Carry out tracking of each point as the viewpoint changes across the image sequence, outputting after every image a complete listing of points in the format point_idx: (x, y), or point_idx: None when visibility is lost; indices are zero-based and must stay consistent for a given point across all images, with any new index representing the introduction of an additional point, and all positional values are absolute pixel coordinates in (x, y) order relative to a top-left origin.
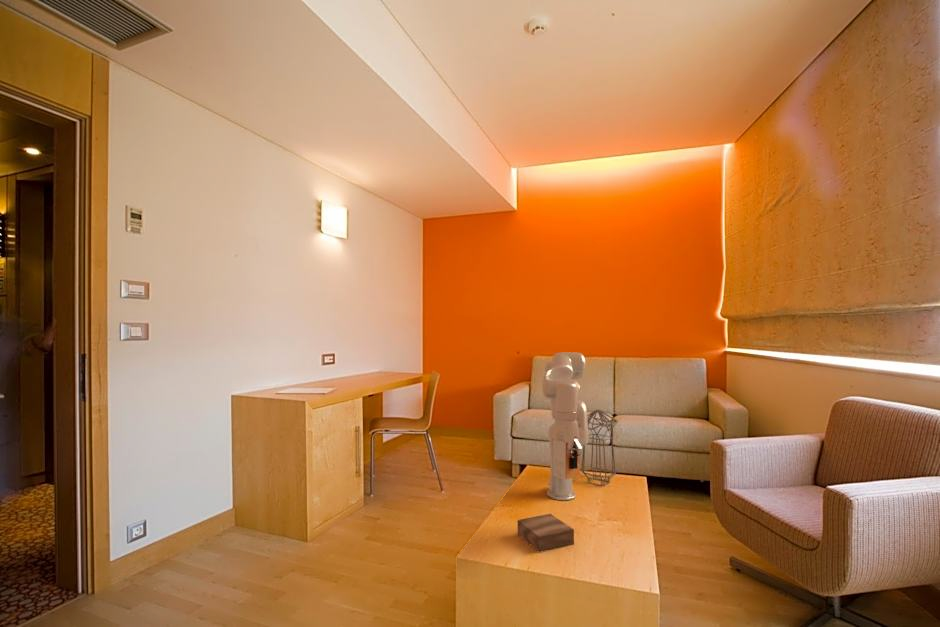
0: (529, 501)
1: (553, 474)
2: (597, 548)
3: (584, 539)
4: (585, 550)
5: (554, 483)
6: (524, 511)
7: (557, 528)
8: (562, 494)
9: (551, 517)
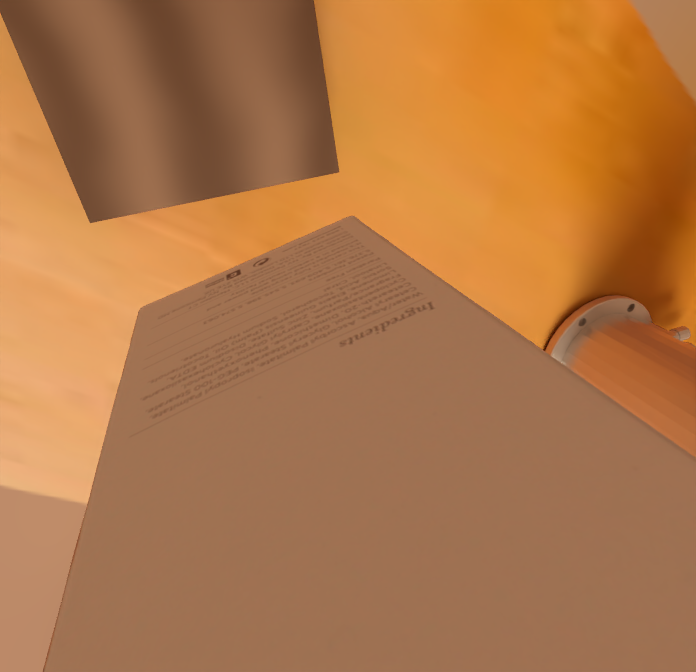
0: (610, 185)
1: (346, 220)
2: (55, 305)
3: (161, 282)
4: (30, 237)
5: (639, 343)
6: (530, 103)
7: (106, 115)
8: (575, 352)
9: (284, 153)
